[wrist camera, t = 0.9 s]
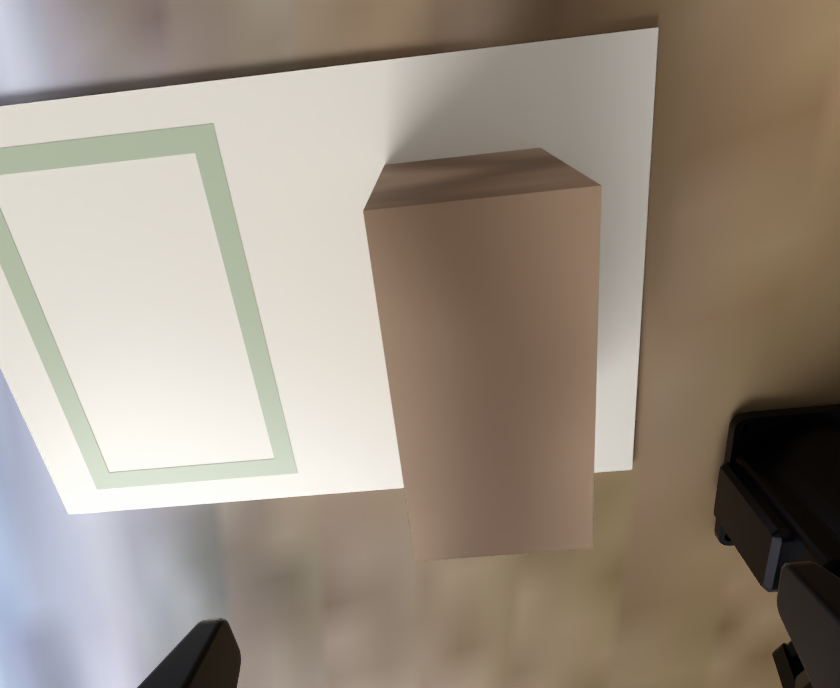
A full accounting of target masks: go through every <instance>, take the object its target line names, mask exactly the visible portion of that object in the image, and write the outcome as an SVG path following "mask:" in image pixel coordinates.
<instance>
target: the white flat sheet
mask: <svg viewBox="0 0 840 688" xmlns="http://www.w3.org/2000/svg"><path fill="white" fill-rule="evenodd" d="M657 44H658V27H657V28H648V29H640V30H632V31H623V32H615V33H607V34H598V35H590V36H582V37H573V38H565V39H557V40H548V41H540V42H532V43H523V44H515V45H507V46H498V47H490V48H482V49H473V50H465V51H457V52H448V53H440V54H432V55H423V56H415V57H407V58H398V59H390V60H382V61H373V62H365V63H357V64H348V65H340V66H332V67H323V68H315V69H307V70H298V71H290V72H282V73H273V74H265V75H257V76H248V77H240V78H232V79H223V80H215V81H207V82H198V83H190V84H182V85H173V86H165V87H157V88H148V89H140V90H132V91H123V92H115V93H106V94H98V95H90V96H81V97H73V98H65V99H56V100H48V101H40V102H31V103H23V104H15V105H6V106H0V368H1V370H2V373H3V375H4V377H5V379H6V381H7V383H8V385H9V388H10V390H11V392H12V394H13V396H14V398H15V400H16V403H17V405H18V407H19V409H20V411H21V413H22V415H23V418H24V420H25V422H26V424H27V426H28V428H29V430H30V433H31V435H32V437H33V439H34V441H35V443H36V445H37V448H38V450H39V452H40V454H41V456H42V458H43V460H44V463H45V465H46V467H47V469H48V471H49V473H50V475H51V478H52V480H53V482H54V484H55V486H56V488H57V490H58V493H59V495H60V497H61V499H62V501H63V503H64V505H65V508H66V510H67V512H68V514H69V515H70V514H82V513H95V512H107V511H120V510H133V509H145V508H158V507H170V506H183V505H195V504H208V503H220V502H233V501H245V500H258V499H270V498H283V497H295V496H308V495H320V494H333V493H345V492H358V491H370V490H383V489H395V488H404V484H403V477H402V471H401V464H400V457H399V450H398V444H397V437H396V430H395V423H394V417H393V410H392V403H391V396H390V390H389V383H388V376H387V369H386V363H385V356H384V349H383V342H382V336H381V329H380V322H379V315H378V309H377V302H376V295H375V288H374V282H373V275H372V268H371V261H370V255H369V248H368V241H367V234H366V228H365V221H364V214H363V210H364V208H365V205H366V203H367V201H368V199H369V197H370V195H371V193H372V190H373V188H374V186H375V184H376V182H377V180H378V178H379V176H380V173H381V171H382V169H383V167H384V165H387V164H396V163H405V162H414V161H423V160H432V159H441V158H451V157H460V156H469V155H478V154H487V153H496V152H505V151H514V150H523V149H532V148H542V149H543V150H545V151H547V152H548V153H550V154H552V155H553V156H555V157H556V158H558V159H560V160H561V161H563V162H564V163H566V164H568V165H569V166H571V167H573V168H574V169H576V170H577V171H579V172H581V173H582V174H584V175H585V176H587V177H589V178H590V179H592V180H594V181H595V182H597V183H598V184H600V185H602V187H601V226H600V265H599V304H598V343H597V381H596V420H595V459H594V473H596V472H608V471H621V470H632V462H633V445H634V429H635V412H636V395H637V378H638V362H639V345H640V328H641V312H642V295H643V278H644V261H645V245H646V228H647V211H648V194H649V178H650V161H651V144H652V127H653V111H654V94H655V77H656V61H657Z"/></svg>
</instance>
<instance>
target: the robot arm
mask: <svg viewBox="0 0 840 688" xmlns="http://www.w3.org/2000/svg"><path fill="white" fill-rule="evenodd" d="M748 423H749V425H748V426H747V427H746V428H743V429H741V428H742V426H744V425H745V424H748ZM714 515H715V517H716V524H715V535H716V537H717V538H718V540H719V541H720V543H721V544H723V545H728V546H731V545H734V546H735V547H736V549H737V550H738V552H739V553H740V555H741V556H742V558H743V559H744V561H745V562H746V564H747V565H748V567H749V568H750V570H751V571H752V573H753V574H754V576H755V577H756V579H757V580H758V582H759V583H760V585H761V586H762V587H763V588H764V589H765V590H767V591H768V592H778V594H777V607H778V611H779V614H780V617H781V619H782V621H783V623H784V625H785V628H786V630H787V632H788V634H789V636H790V638H791V641H790V642H789V643H788V644H786V643H783V644H782V645H781V646H780V647H778V648H777V649H776V650H775V651H774V652H773V653H772V655H773V658H774V661H775V664H776V668H777V671H778V674H779V677H780V680H781V683H782V686H783V688H840V405H829V406H817V407H805V408H793V409H781V410H769V411H757V412H746V413H741V414H738V415H736V416H735V417H734V418H733V419H732V420H731V422H730V425H729V432H728V439H727V446H726V453H725V460H724V463H723V464H722V466H721V467H720V470H719V478H718V485H717V492H716V499H715V507H714ZM240 665H241V654H240V650H239V647H238V644H237V642H236V640H235V637H234V635H233V633H232V630H231V628H230V625H229V623H228V621H227V620H225V619H224V618H218V619H207V620H203V621H201V622H199V623H198V624H197V625H196V626H195V627H194V628H193V629H192V630H191V631H190V632H189V633H188V634H187V635H186V636H185V637H184V638H183V639H182V641H181V642H180V643H179V644H178V645H177V646H176V647H175V648H174V649H173V650H172V651H171V652H170V653H169V654H168V655H167V656H166V658H165V659H164V660H163V661H162V662H161V663H160V664H159V665H158V666H157V667H156V668H155V669H154V670H153V671H152V672H151V674H150V675H149V676H148V677H147V678H146V679H145V680H144V681H143V682H142V683H141V684H140V685H139V686H138V687H137V688H237V683H238V677H239V672H240Z"/></svg>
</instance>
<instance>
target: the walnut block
mask: <svg viewBox="0 0 840 688" xmlns="http://www.w3.org/2000/svg"><path fill="white" fill-rule="evenodd" d="M601 187H602V185H600V184H598V183H597V182H595V181H594V180H592V179H590V178H589V177H587V176H585V175H584V174H582V173H581V172H579V171H577V170H576V169H574V168H573V167H571V166H569V165H568V164H566V163H564V162H563V161H561V160H560V159H558V158H556V157H555V156H553V155H552V154H550V153H548V152H547V151H545V150H543V149H542V148H532V149H523V150H514V151H505V152H496V153H487V154H478V155H469V156H460V157H451V158H441V159H432V160H423V161H414V162H405V163H396V164H387V165H384V167H383V169H382V171H381V173H380V176H379V178H378V180H377V182H376V184H375V186H374V188H373V190H372V193H371V195H370V197H369V199H368V201H367V203H366V205H365V208H364V210H363V214H364V221H365V228H366V234H367V241H368V248H369V255H370V261H371V268H372V275H373V282H374V288H375V295H376V302H377V309H378V315H379V322H380V329H381V336H382V342H383V349H384V356H385V363H386V369H387V376H388V383H389V390H390V396H391V403H392V410H393V417H394V423H395V430H396V437H397V444H398V450H399V457H400V464H401V471H402V477H403V484H404V491H405V498H406V504H407V511H408V518H409V525H410V531H411V538H412V545H413V552H414V558H415V561H427V560H440V559H454V558H468V557H482V556H495V555H509V554H523V553H536V552H550V551H564V550H578V549H591V548H592V537H593V498H594V459H595V420H596V381H597V343H598V304H599V265H600V226H601Z"/></svg>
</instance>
